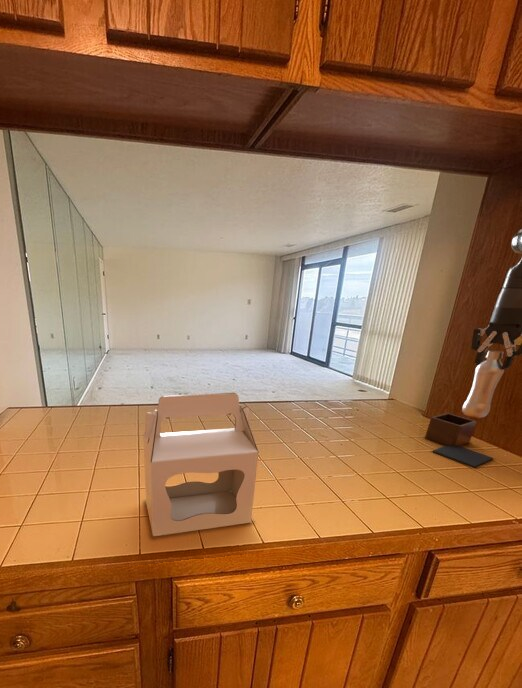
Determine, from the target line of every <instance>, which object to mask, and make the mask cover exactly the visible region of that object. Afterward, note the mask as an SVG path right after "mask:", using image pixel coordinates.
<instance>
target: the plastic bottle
mask: <svg viewBox="0 0 522 688" xmlns="http://www.w3.org/2000/svg"><path fill="white" fill-rule="evenodd" d="M504 352H505V351H500V350H486V354H485V357H484V360H483V361H482V362H481V363H480V364H479V365H476V367H475V368H474V369H475V370H474V376H473V381H472V385H471V388H470V392H469V393H468V395H467V397H466V400H465V401H464V403H463V405H462V406H461V412H462V414H463V415H464V416H467V417H471V418H477V419H478V418H479V419H481V418H483V419H484V418H485V417H487V416H488V414H489V413H490V411H491V403H492V398H493V396H494V393H495V389H496V388H497V385H498V384H499V382H500V380H501V378H502V376H503V374H504V373H505V370H503V369H501V368H502V365H503V363H502V361H501V360H502V359H503V355H504Z"/></svg>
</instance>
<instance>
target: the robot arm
mask: <svg viewBox="0 0 522 688" xmlns="http://www.w3.org/2000/svg"><path fill="white" fill-rule="evenodd" d="M510 245H511V249H512V250H513V252H514V253H516V254H518V255H522V228H521V229H519V230H518V231H517V232H516V233H515V234H514V236H513V237H512V238H511V243H510ZM488 323H489V324H488V326H487V327H485V328H478V327H477V328H475V329H473V333H472V338H471V346H470V348H471V350H474V351H476V355H475V359H474V364H475V365H476V366H478V365H479V364H480V363H481V362H482V361H484V360H485V358H486V357H485V356H486V354H487V351H488V349H489V348H490V347H491V346H492V345H495V344H499V345H503V346H504V349H505V351H506V356H505V357H504V360H503V363H502V368H501V369H503V370H504V371H505V370H508V369H510V368H511V367H512V365H513V362H514V360H515V357H517V356H522V342H521V343H520V345H519V347H518V349H516V348H517V343H516V340H517V339H519V338H520V337H522V257H521V259H520V260H519V262H518V263H516V264H514V265H512V266H511V267H509V269H508V271H507V272H506V276H505V279H504V282H503V285H502V288H501V290H500V292H499V294H498V296H497V299H496V301H495V303H494V308H493V311H492V314H491V316H490V320H489V322H488ZM484 334H485V335H486V339H485V340H484V341H483V342H482V337H483V336H484ZM481 342H482V344H481Z"/></svg>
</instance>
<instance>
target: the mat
mask: <svg viewBox="0 0 522 688" xmlns="http://www.w3.org/2000/svg"><path fill="white" fill-rule="evenodd" d="M432 453H434V454H436V455H439V456H441V457H444V458H447V459H449V460H452V461H455V462H457V463H460V464H463V465H466V466H469V467H471V468H472V469H473V468H474V469H475V468H477V467H479V466H481V465H484V464H485V463H488V462H490V461H492V460H494V457H492V456H489V455H486V454H484V453H480V452H478V451H474V450H472V449H469V448H466V447H463V446H455V447H453V446H450V445H447V446H445V445H443V446H441V447H439V448H437V449H434V450H432Z"/></svg>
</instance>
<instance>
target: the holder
mask: <svg viewBox="0 0 522 688" xmlns="http://www.w3.org/2000/svg"><path fill="white" fill-rule="evenodd" d="M477 424H478V421H477V420H474V419H470V418H467V417H463V416H459V415H456V414H453V413H449V412H445V413H442V414H438V415H435V416H432V417H430V419H429V423H428V426H427V429H426V433H425V435H424V439H426V440H428V441H431V442H435V443H437V444H440V445H443V446H447V445H450V446H453V447H455V446H460V447H463V446H465V445H467V444H470V442H471V439H472V437H473V434H474V432H475V428H476V426H477Z"/></svg>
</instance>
